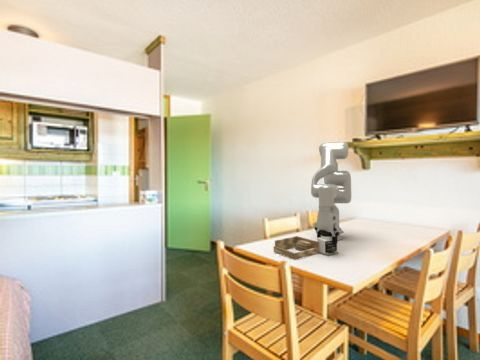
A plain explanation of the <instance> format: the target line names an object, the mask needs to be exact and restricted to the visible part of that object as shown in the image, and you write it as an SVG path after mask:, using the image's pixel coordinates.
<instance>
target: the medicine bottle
mask: <svg viewBox="0 0 480 360" xmlns="http://www.w3.org/2000/svg"><path fill="white" fill-rule="evenodd" d="M332 237H333V235H332V233H331V232H327V231H326V230H321V237H319V238H317V237H316V241H317V242H319V252H321V253H323V254H333V253H337V252H338V243H337V244H334V245H333V244H332ZM323 254H322V255H323Z"/></svg>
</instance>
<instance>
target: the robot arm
mask: <svg viewBox="0 0 480 360" xmlns="http://www.w3.org/2000/svg"><path fill="white" fill-rule="evenodd" d="M349 148H350V147H349V143H348V142H347V141H337V142H334V141H333V142H324V143H321V144H320V145H319V147H318V149H319V150H318V151H319V156H320V168H319V169H318V170H317V171H316V172H315V173H314V174H313V176H312V179H311V186H310V192H311V193H310V194H311V196H312V197H313V198H315V199H318V211H317V218H316V222H314V223H313V224H312V225H313V227H314V230H315V232H316V239H317V238H319V237H321V230H326V231H327V232H331V233H332V235H333V237H332V244H333V245H334V244H337V245H338V241H340V240H342V239H343V236H342V235H341V234H344V230H343V228H341V226H340V210H339V208H338V206H337V205H336V204H349V203H351V201H352V176H351V173H350V171H348V170H339V163H338V161H337V160H346V159H347V158H348V156H349V150H350V149H349ZM322 179H323V182H324V183H322V184H321V183H319V181H320V180H322Z"/></svg>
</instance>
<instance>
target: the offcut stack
mask: <svg viewBox="0 0 480 360" xmlns="http://www.w3.org/2000/svg"><path fill="white" fill-rule="evenodd" d="M308 249H312V248H311V243H309V242H306V241H303V240H300V241H298V243H296V246H295V250H296V251H298V252H300V251H304V250H308Z"/></svg>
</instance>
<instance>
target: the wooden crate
mask: <svg viewBox="0 0 480 360" xmlns="http://www.w3.org/2000/svg"><path fill="white" fill-rule="evenodd" d="M300 240H303V241H306V242H309V243H311V248H312V249H308V250H304V251H298V252H294V251H290V249H291V250H292V249H294V248H295V246H296V243H298V241H300ZM273 253H275V254H279V255H280V254H281V256H283V255H284V257H286V258H288V257H289V258H288V259H291V260H294V261H296V259H297V260H300V259H303V257H304V258H306V257H310V256H315V255H319V242H317V240H314V239H309V238H305V237H303V236H298V235H295V236H290V237H289V236H288V237H284V238H280V239H276V240H274V245H273Z"/></svg>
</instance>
